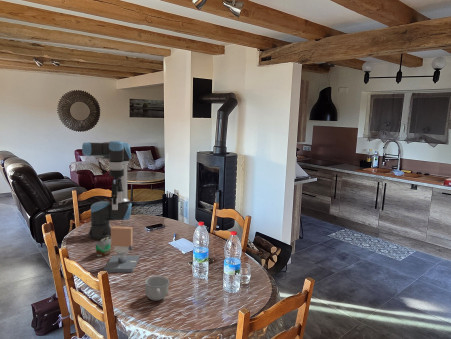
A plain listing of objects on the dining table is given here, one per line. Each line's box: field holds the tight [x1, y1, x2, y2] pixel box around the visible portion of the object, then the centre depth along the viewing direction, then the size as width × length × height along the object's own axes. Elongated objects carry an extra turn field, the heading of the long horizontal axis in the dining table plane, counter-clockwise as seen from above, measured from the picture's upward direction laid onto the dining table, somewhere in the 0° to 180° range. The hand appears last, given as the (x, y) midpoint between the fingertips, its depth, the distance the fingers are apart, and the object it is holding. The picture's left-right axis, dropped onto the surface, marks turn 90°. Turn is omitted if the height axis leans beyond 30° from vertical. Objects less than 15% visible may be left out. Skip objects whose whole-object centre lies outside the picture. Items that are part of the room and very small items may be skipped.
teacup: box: [144, 275, 170, 301], centre depth 145 cm, size 14×11×8 cm
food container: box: [94, 235, 111, 258], centre depth 189 cm, size 12×6×10 cm, turn 168°
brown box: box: [110, 225, 134, 254], centre depth 175 cm, size 11×8×13 cm
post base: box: [103, 252, 140, 273], centre depth 176 cm, size 17×15×8 cm
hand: (117, 206), depth 179 cm, fingers open, 13 cm apart
